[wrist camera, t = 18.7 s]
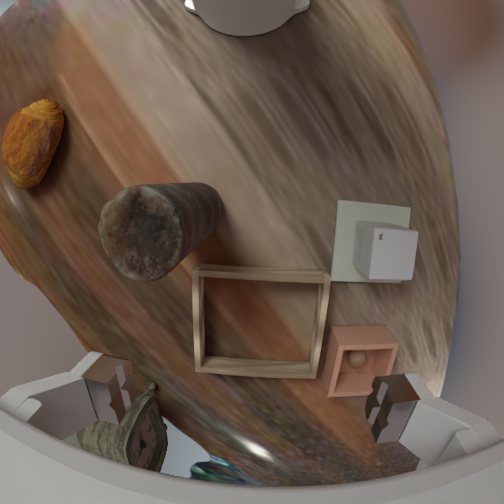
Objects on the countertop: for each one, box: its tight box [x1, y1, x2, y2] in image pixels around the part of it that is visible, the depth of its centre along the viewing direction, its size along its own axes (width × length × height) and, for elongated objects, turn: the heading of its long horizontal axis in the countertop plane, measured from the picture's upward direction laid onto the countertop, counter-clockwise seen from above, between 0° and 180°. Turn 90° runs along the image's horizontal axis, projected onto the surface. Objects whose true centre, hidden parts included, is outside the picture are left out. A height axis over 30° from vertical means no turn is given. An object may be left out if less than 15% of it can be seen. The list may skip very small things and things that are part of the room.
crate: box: [192, 263, 331, 379], centre depth 40 cm, size 16×18×4 cm
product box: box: [352, 221, 419, 280], centre depth 34 cm, size 6×6×7 cm
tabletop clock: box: [77, 381, 168, 472], centre depth 34 cm, size 14×9×25 cm, turn 2°
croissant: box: [2, 99, 64, 189], centre depth 35 cm, size 14×16×8 cm
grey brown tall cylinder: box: [98, 183, 223, 282], centre depth 29 cm, size 8×7×20 cm
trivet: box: [330, 200, 411, 283], centre depth 38 cm, size 11×11×1 cm
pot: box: [322, 325, 400, 397], centre depth 39 cm, size 9×9×6 cm
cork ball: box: [347, 350, 367, 368], centre depth 40 cm, size 3×3×3 cm
